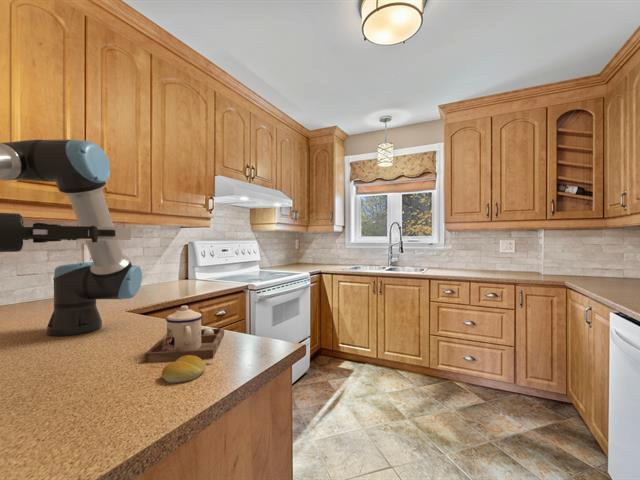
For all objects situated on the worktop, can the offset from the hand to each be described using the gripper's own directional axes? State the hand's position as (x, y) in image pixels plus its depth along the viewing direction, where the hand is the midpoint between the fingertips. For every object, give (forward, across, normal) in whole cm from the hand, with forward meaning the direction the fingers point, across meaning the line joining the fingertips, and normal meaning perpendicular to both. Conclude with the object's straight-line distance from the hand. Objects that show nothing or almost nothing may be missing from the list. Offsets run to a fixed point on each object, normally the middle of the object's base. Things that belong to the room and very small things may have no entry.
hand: (119, 234), depth 77 cm
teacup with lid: (+15, +3, -31) cm, 35 cm away
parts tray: (+17, 0, -32) cm, 36 cm away
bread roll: (+8, +15, -32) cm, 37 cm away
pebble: (+25, -2, -31) cm, 40 cm away
